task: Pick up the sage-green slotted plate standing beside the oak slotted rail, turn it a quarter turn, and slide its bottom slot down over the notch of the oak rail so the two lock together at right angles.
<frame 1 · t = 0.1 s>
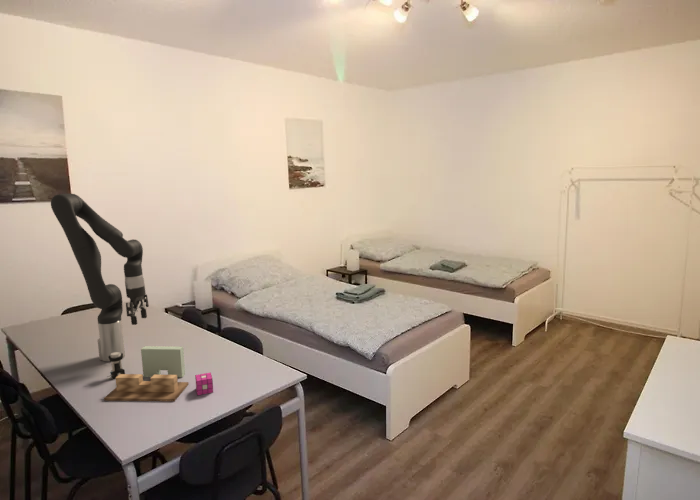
hand: (139, 321, 194), 17 cm above the table, tool pointing down, fingers open, 8 cm apart
sage slotted plate: (164, 375, 179), on the table
oak slotted rail: (147, 392, 165), on the table
push button: (116, 377, 178), on the table
puzzle toy: (204, 391, 167), on the table
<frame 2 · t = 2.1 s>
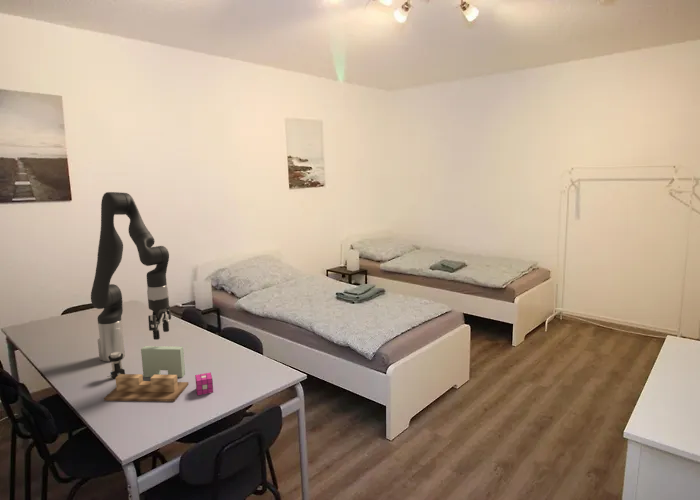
hand: (161, 335, 176), 17 cm above the table, tool pointing down, fingers open, 8 cm apart
nothing on the table moved.
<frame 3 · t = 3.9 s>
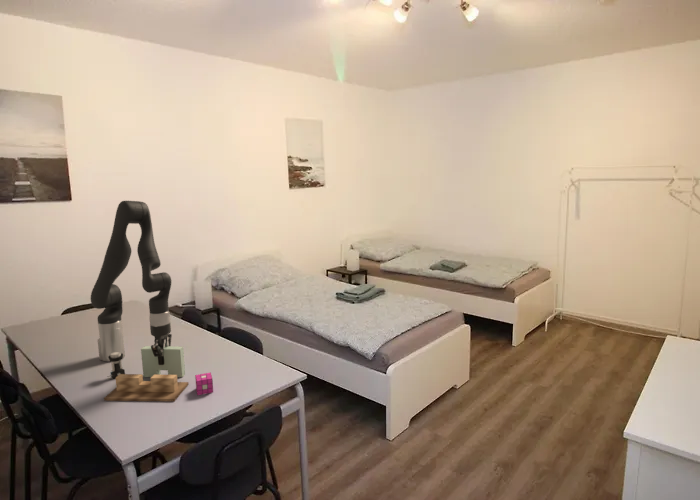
hand: (163, 362, 178), 6 cm above the table, tool pointing down, fingers closed on sage slotted plate, 3 cm apart
sage slotted plate: (164, 375, 179), on the table, touching gripper
everything else where it was.
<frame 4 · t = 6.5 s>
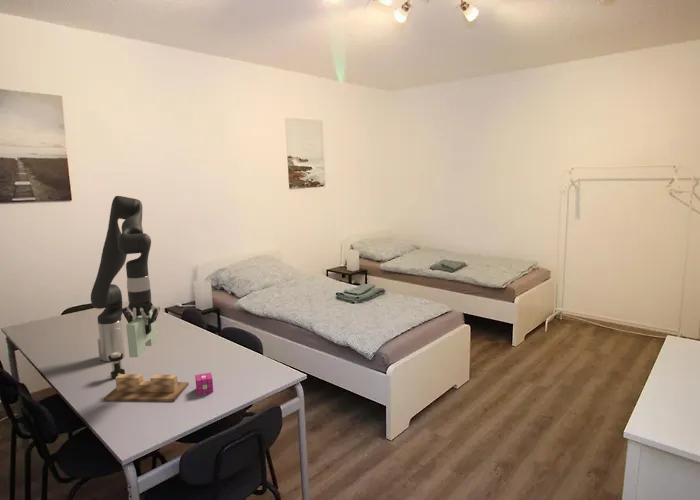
hand: (143, 333, 162), 23 cm above the table, tool pointing down, fingers closed on sage slotted plate, 3 cm apart
sage slotted plate: (144, 348, 163), point 17 cm above the table, touching gripper
everything else where it was.
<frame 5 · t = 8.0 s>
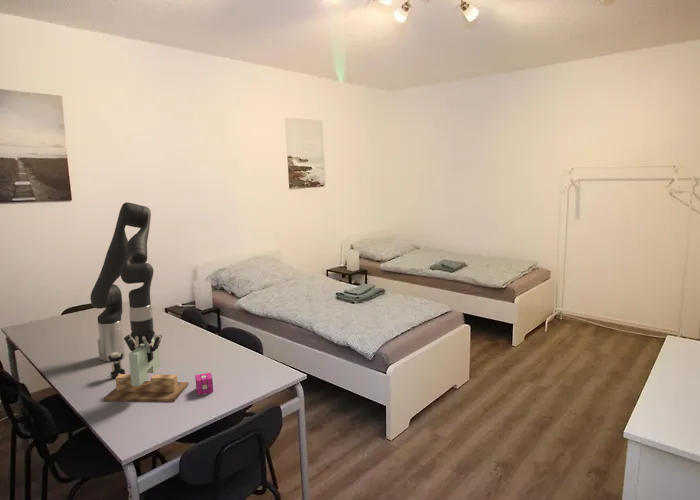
hand: (145, 361, 163), 12 cm above the table, tool pointing down, fingers closed on sage slotted plate, 3 cm apart
sage slotted plate: (146, 375, 164), point 7 cm above the table, touching gripper
everything else where it was.
when the fingers open (8 cm above the table, at t = 9.3 s): sage slotted plate stays where it is, resting on oak slotted rail.
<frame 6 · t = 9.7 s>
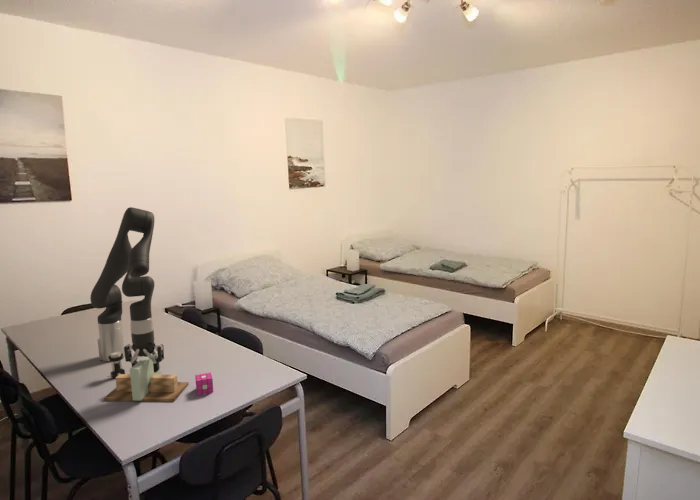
hand: (146, 371, 164), 8 cm above the table, tool pointing down, fingers open, 7 cm apart
sage slotted plate: (147, 389, 165), point 1 cm above the table, touching oak slotted rail
everything else where it was.
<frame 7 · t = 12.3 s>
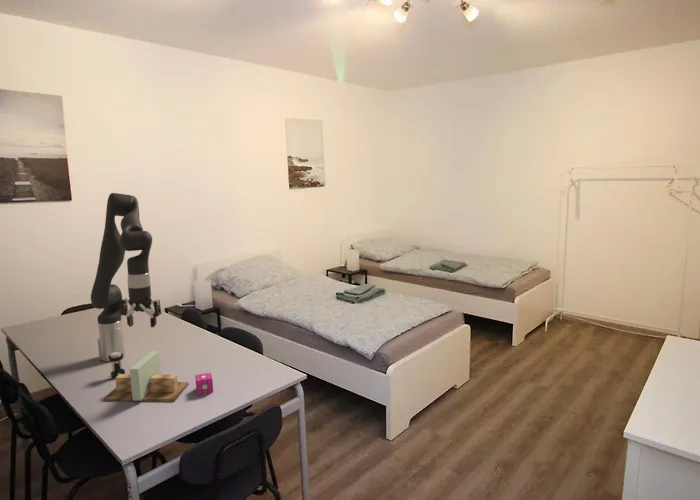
hand: (142, 326, 165), 25 cm above the table, tool pointing down, fingers open, 8 cm apart
nothing on the table moved.
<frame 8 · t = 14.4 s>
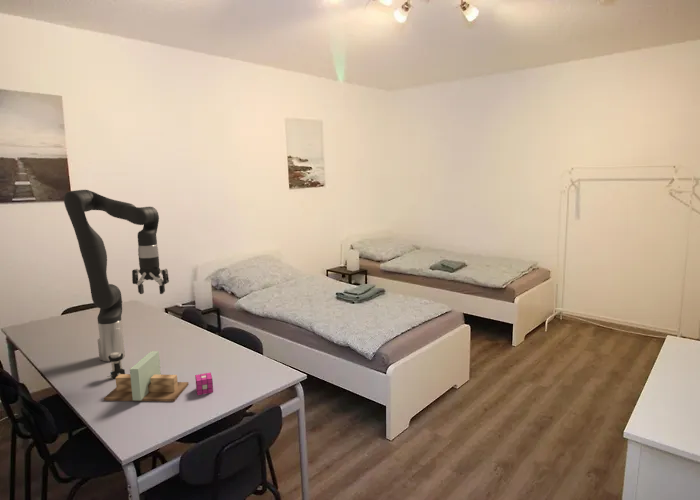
hand: (151, 293, 183), 32 cm above the table, tool pointing down, fingers open, 8 cm apart
nothing on the table moved.
at the end: sage slotted plate 0.1 cm off-centre on the oak slotted rail, point 1.0 cm above the oak slotted rail's base; sage slotted plate tilted 0°; the gripper is holding nothing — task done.
